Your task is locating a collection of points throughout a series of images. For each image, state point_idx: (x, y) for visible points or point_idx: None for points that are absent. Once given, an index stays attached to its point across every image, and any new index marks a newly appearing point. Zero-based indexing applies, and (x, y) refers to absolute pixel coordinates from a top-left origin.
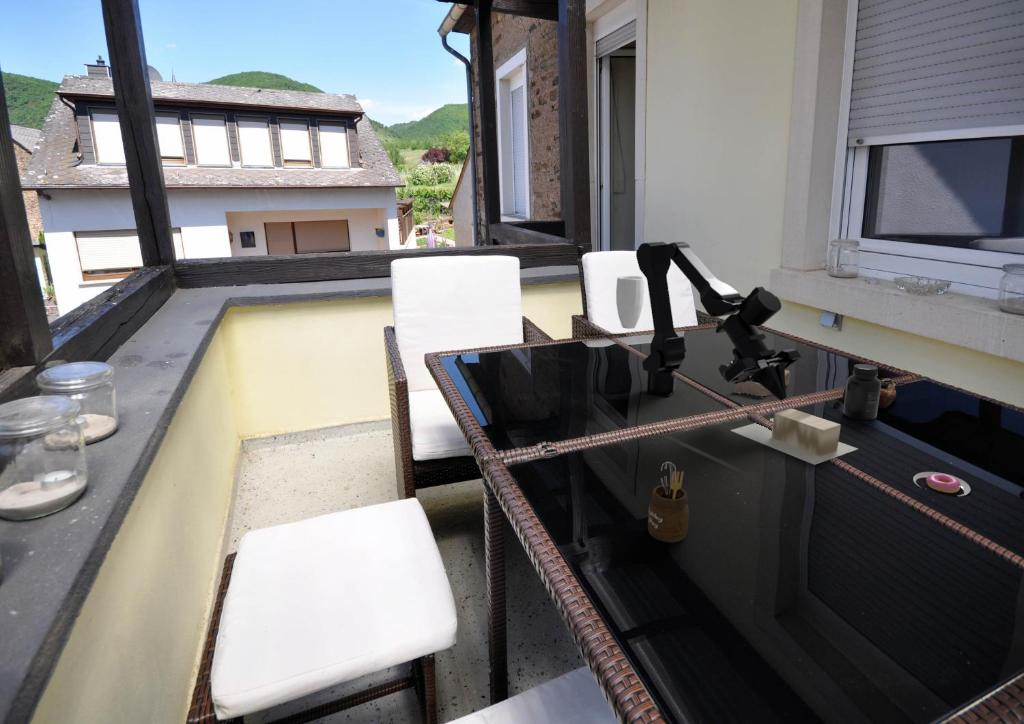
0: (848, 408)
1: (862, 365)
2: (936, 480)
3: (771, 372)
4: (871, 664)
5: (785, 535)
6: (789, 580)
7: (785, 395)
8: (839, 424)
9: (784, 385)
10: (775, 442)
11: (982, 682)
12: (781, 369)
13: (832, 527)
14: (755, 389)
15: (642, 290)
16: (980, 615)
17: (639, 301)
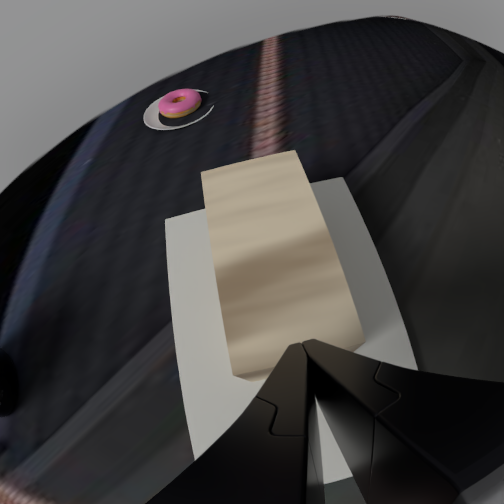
0: (1, 390)
1: None
2: (190, 96)
3: (484, 385)
4: (444, 35)
5: (466, 90)
6: (473, 67)
7: (295, 346)
8: (203, 174)
9: (279, 376)
10: (359, 317)
11: (397, 19)
12: (253, 476)
13: (413, 80)
14: None
15: None
16: (360, 24)
17: None
